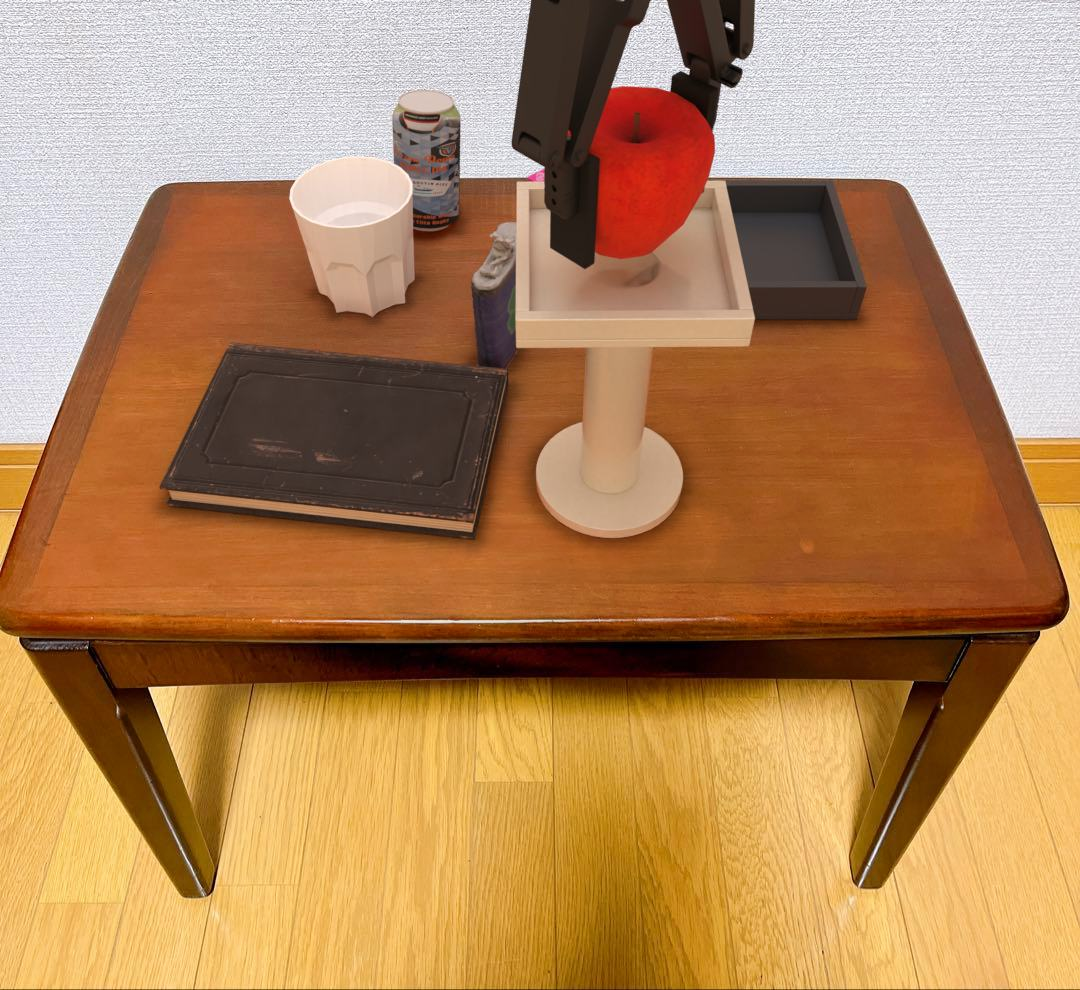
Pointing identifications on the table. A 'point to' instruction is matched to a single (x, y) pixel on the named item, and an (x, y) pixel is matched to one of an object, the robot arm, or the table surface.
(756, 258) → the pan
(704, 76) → the robot arm
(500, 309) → the flask
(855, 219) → the table surface
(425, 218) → the beverage can
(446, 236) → the table surface
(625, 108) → the apple
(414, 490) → the hardcover book
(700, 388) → the table surface
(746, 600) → the table surface
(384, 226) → the cup
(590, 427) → the pedestal tray stand
